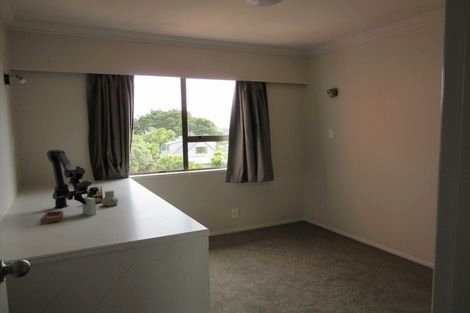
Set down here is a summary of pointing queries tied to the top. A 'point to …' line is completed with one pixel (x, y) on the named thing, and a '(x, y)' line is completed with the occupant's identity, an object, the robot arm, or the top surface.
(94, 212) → the pale green rectangular block
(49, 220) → the brown wooden tray
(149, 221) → the top surface
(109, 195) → the air freshener
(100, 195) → the ammunition clip
